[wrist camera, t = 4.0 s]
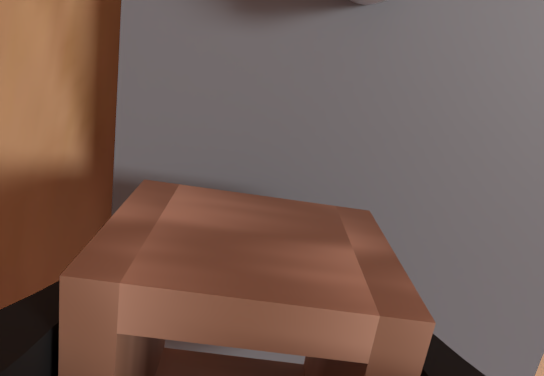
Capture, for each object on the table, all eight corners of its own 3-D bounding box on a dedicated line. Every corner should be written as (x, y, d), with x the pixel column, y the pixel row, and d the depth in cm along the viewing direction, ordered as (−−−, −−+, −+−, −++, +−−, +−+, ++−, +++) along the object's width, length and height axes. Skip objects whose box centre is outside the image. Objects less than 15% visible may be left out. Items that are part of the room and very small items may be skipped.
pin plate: (715, -193, 12) (948, -313, 8) (510, 369, 17) (585, 473, 13) (151, -303, 11) (84, -498, 7) (116, 322, 16) (67, 417, 12)
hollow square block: (369, 210, 11) (435, 323, 7) (328, 393, 12) (359, 580, 8) (144, 179, 11) (59, 275, 6) (131, 369, 12) (56, 550, 8)
